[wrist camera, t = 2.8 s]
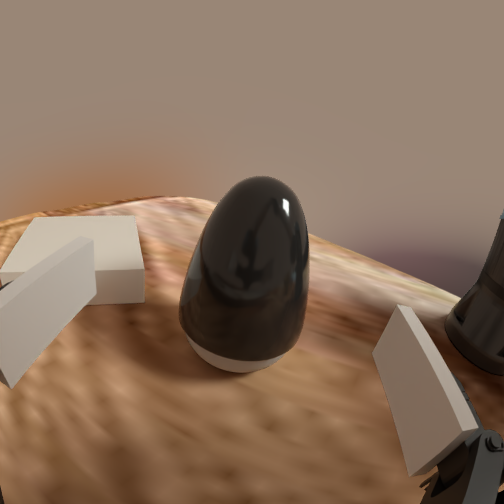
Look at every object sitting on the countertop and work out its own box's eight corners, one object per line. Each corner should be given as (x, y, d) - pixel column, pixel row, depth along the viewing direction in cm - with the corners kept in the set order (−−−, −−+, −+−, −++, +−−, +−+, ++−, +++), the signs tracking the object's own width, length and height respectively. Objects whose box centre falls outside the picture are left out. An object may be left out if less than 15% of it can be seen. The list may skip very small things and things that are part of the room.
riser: (134, 240, 41) (134, 215, 39) (144, 302, 28) (144, 269, 26) (37, 242, 34) (34, 217, 32) (7, 305, 21) (-2, 272, 19)
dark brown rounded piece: (294, 329, 29) (336, 184, 23) (281, 405, 20) (352, 212, 14) (201, 303, 30) (221, 158, 24) (157, 366, 21) (164, 170, 15)
